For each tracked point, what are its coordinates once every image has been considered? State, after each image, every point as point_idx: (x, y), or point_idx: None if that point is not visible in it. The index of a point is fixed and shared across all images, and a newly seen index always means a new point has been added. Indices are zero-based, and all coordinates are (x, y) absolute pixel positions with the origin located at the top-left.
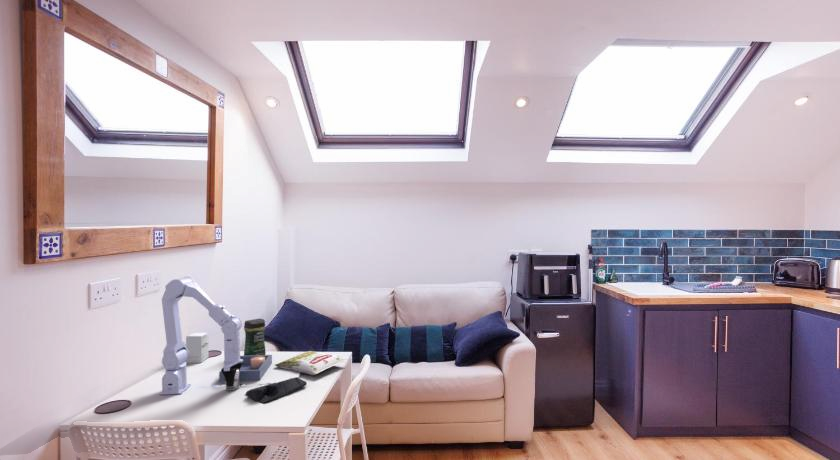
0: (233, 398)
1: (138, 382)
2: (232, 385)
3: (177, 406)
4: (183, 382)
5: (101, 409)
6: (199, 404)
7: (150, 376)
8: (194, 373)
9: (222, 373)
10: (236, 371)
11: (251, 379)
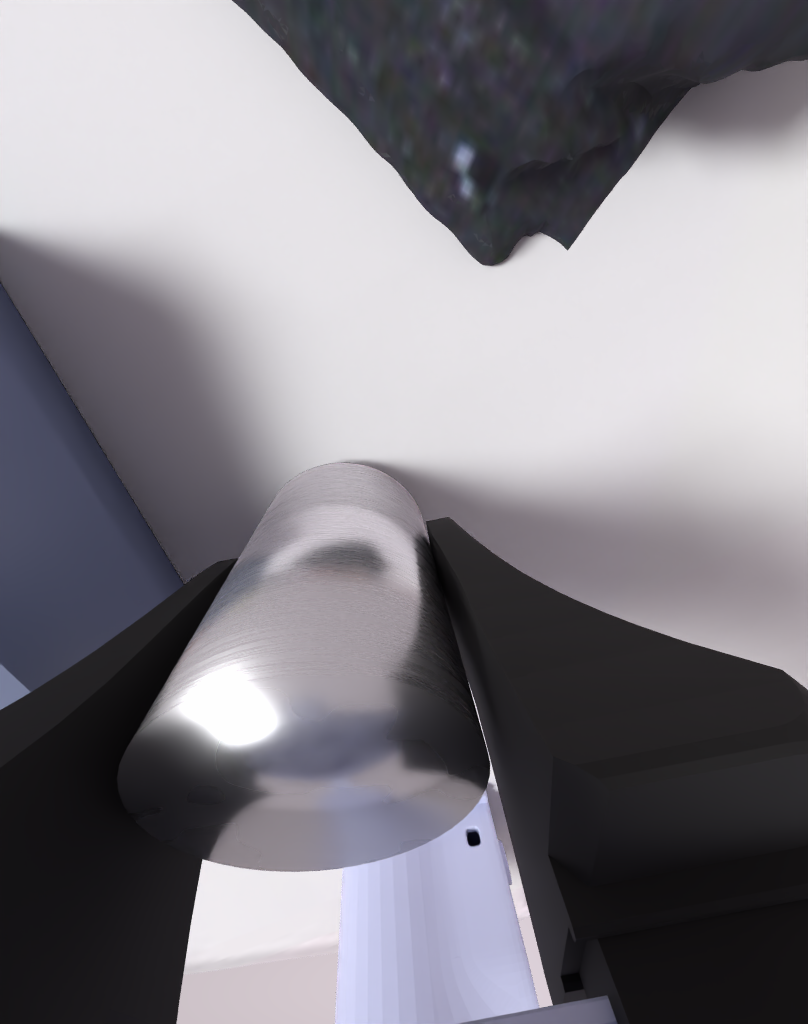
0: (659, 366)
1: (326, 944)
2: (454, 523)
3: None
4: (424, 875)
5: None
6: (715, 608)
7: (241, 955)
8: None
9: None
10: (392, 675)
11: (13, 395)
